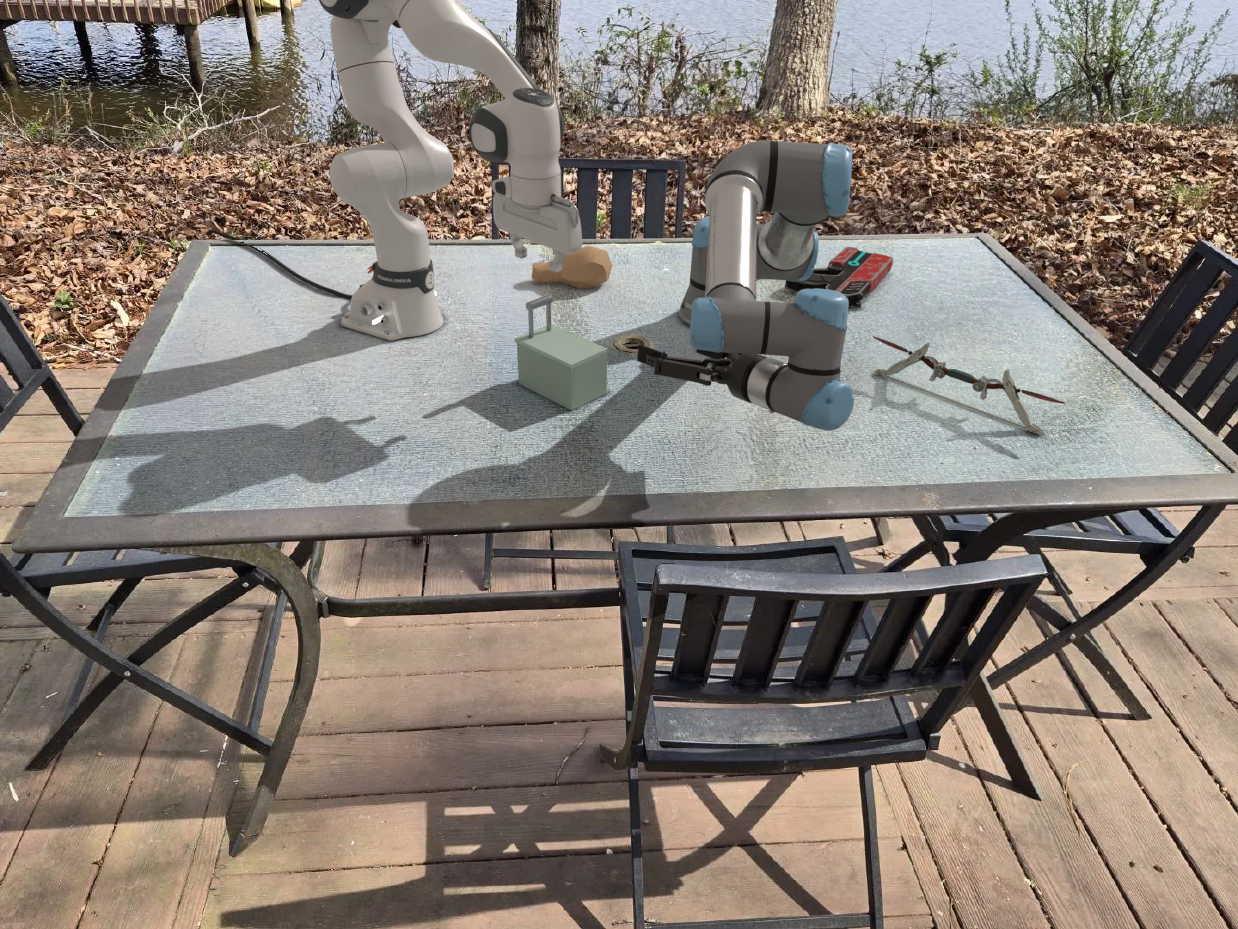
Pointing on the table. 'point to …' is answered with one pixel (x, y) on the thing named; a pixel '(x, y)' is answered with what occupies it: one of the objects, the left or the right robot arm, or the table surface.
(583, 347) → the lid
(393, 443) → the table surface
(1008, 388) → the bow
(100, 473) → the table surface
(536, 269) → the squash
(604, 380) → the chest
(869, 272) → the gun
